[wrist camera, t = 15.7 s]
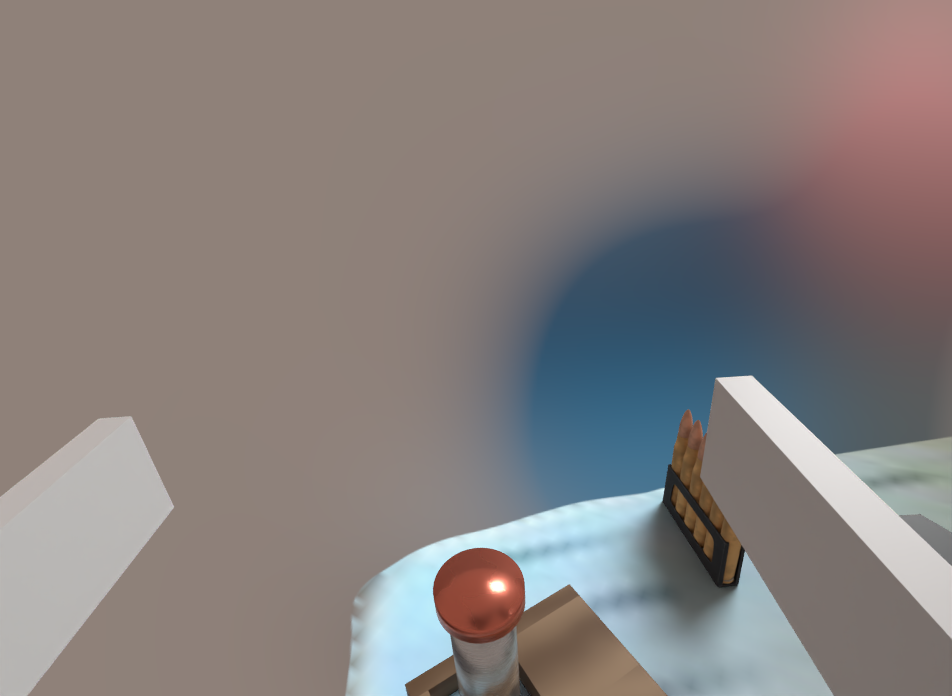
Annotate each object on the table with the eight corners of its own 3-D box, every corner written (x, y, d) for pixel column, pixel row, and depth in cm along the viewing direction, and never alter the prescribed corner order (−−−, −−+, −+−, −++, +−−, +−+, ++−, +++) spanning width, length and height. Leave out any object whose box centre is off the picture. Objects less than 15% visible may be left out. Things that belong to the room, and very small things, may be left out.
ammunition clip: (739, 585, 42) (765, 477, 36) (718, 588, 41) (741, 480, 36) (678, 498, 51) (692, 403, 46) (662, 500, 51) (674, 405, 46)
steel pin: (546, 737, 32) (543, 597, 26) (479, 788, 30) (460, 648, 24) (504, 670, 37) (493, 534, 30) (443, 710, 34) (418, 573, 28)
